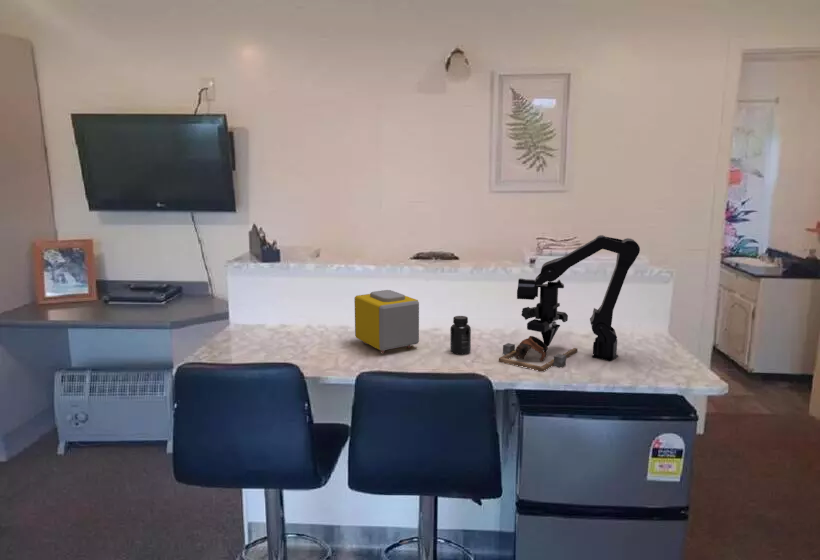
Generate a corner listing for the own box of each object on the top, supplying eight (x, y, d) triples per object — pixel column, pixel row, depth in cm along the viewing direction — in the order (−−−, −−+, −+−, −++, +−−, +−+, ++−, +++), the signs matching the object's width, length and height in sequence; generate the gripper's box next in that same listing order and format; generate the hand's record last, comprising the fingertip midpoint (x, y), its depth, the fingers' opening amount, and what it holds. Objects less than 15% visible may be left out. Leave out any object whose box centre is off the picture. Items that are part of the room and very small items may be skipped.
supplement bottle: (470, 349, 204) (471, 315, 202) (470, 355, 198) (471, 320, 195) (450, 348, 205) (450, 314, 203) (449, 354, 198) (450, 319, 196)
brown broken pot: (522, 353, 202) (535, 333, 199) (541, 371, 196) (556, 351, 194) (502, 352, 193) (516, 331, 190) (523, 371, 187) (537, 350, 185)
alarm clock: (421, 349, 205) (421, 296, 201) (381, 356, 196) (380, 302, 193) (392, 335, 221) (392, 286, 217) (354, 342, 213) (353, 291, 209)
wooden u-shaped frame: (585, 353, 199) (585, 344, 199) (550, 374, 180) (551, 363, 180) (529, 342, 212) (529, 333, 212) (491, 359, 193) (491, 350, 192)
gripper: (539, 292, 209) (537, 335, 212) (513, 302, 194) (511, 348, 197) (569, 296, 202) (567, 341, 205) (544, 307, 188) (542, 354, 191)
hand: (546, 346), depth 200 cm, fingers closed
